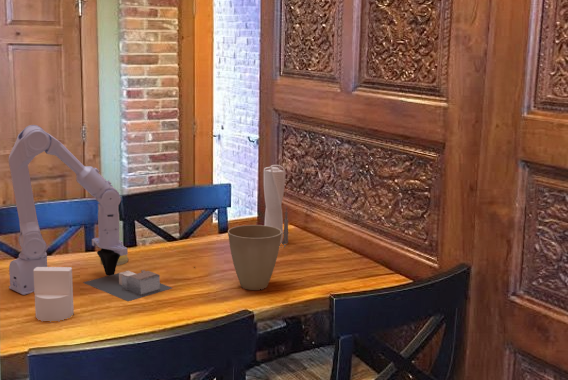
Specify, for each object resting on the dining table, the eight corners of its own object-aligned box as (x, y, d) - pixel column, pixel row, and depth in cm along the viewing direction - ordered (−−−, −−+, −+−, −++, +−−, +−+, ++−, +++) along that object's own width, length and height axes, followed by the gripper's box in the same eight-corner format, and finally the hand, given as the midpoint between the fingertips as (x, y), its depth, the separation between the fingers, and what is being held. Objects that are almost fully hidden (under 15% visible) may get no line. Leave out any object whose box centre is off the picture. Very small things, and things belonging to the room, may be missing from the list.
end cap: (138, 296, 199) (138, 280, 198) (121, 289, 204) (121, 273, 203) (161, 289, 205) (161, 274, 204) (143, 283, 210) (143, 268, 209)
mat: (128, 302, 195) (128, 301, 195) (82, 283, 209) (82, 282, 209) (173, 289, 206) (173, 287, 206) (127, 272, 220) (127, 270, 220)
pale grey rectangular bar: (119, 283, 209) (118, 272, 208) (128, 281, 211) (127, 270, 210) (143, 293, 201) (143, 282, 201) (152, 290, 204) (152, 279, 203)
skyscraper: (283, 249, 247) (284, 166, 242) (259, 247, 249) (260, 164, 244) (288, 243, 256) (290, 161, 250) (265, 241, 257) (267, 160, 252)
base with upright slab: (77, 308, 191) (75, 263, 188) (68, 322, 182) (66, 274, 179) (41, 308, 190) (39, 263, 188) (31, 322, 181) (28, 274, 179)
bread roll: (101, 268, 224) (100, 255, 223) (100, 259, 232) (99, 247, 231) (129, 266, 226) (129, 253, 225) (127, 258, 234) (127, 245, 234)
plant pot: (291, 287, 210) (292, 232, 207) (250, 298, 200) (250, 241, 197) (257, 274, 221) (258, 221, 218) (216, 284, 211) (217, 229, 208)
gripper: (136, 230, 209) (137, 277, 212) (105, 221, 219) (107, 265, 221) (114, 235, 204) (116, 282, 207) (84, 225, 213) (86, 270, 216)
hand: (110, 274), depth 214 cm, fingers closed
